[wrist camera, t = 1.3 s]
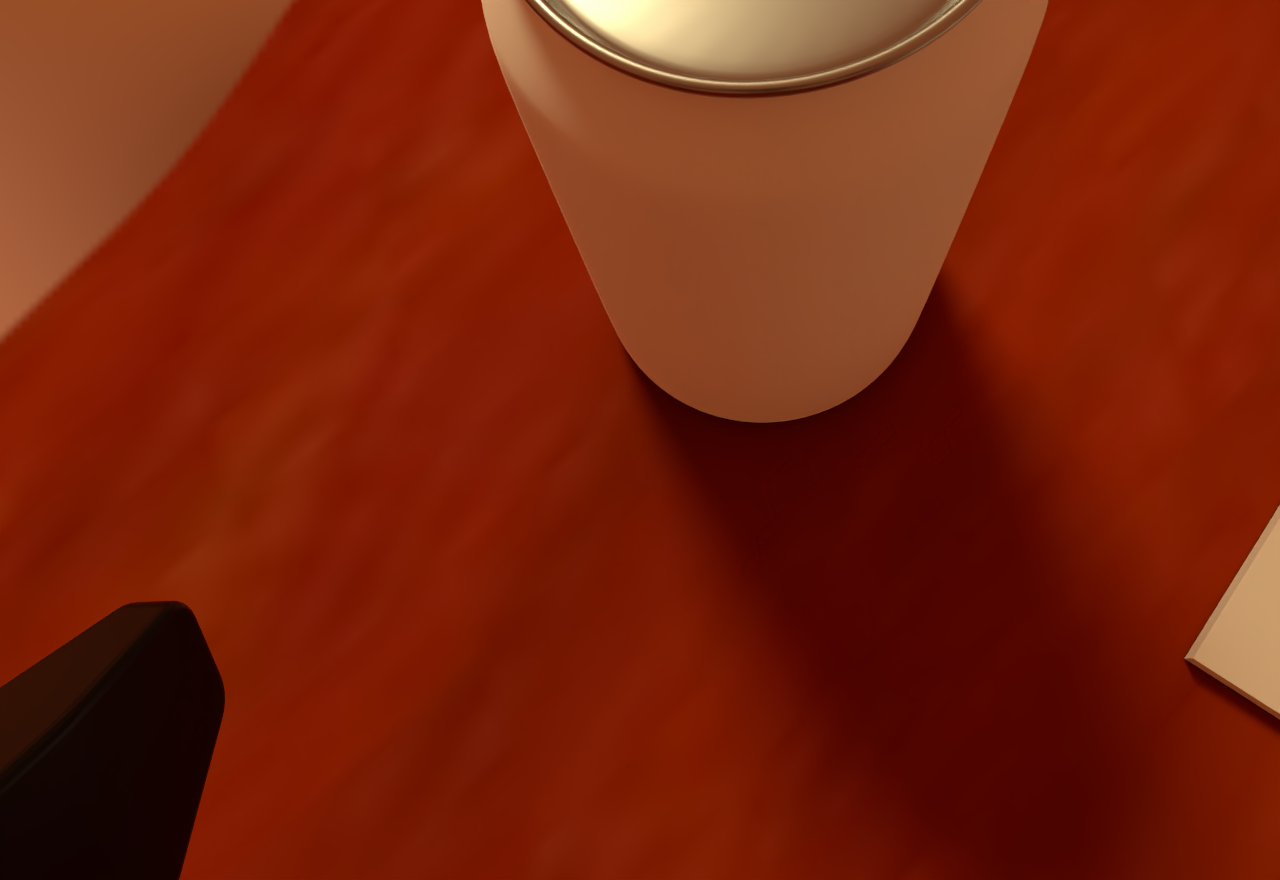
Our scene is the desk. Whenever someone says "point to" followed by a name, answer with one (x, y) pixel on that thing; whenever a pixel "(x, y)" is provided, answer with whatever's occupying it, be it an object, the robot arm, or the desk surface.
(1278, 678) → the beige mat
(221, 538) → the desk surface
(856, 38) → the can
